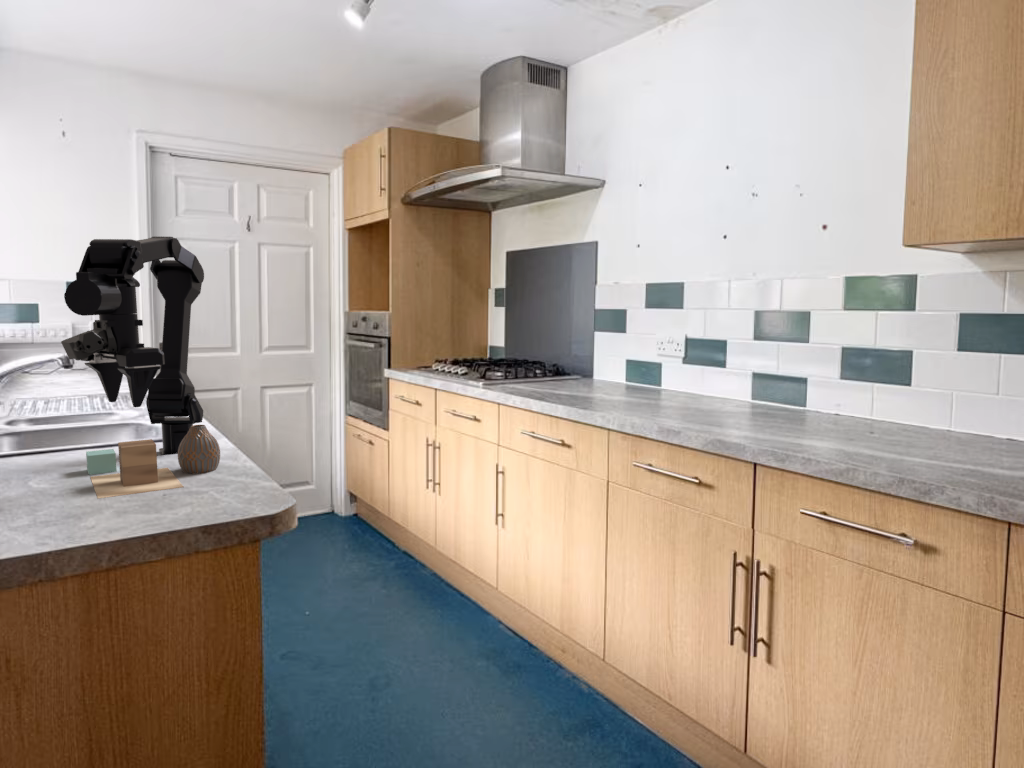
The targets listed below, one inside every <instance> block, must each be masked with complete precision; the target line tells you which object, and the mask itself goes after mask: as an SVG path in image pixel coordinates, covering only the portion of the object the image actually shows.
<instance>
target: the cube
mask: <svg viewBox="0 0 1024 768" xmlns="http://www.w3.org/2000/svg"><path fill="white" fill-rule="evenodd" d="M116 454H117V453H116V451H115V450H114V448H112V449H111V448H109V449H101V450H90V451H87V450H86V452H85V455H86V456H85V457H86V471H87V473H88V475H89V476H91V475H98V474H99V475H100V474H107V473H109V474H110V473H116V472H118V471H117V470H118V469H117V455H116Z"/></svg>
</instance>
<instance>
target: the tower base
mask: <svg viewBox="0 0 1024 768" xmlns="http://www.w3.org/2000/svg"><path fill="white" fill-rule="evenodd" d="M118 462H119V461H118ZM118 464H119V473H120V480H121V482H122V484H123V486H124V487H125V486H133V485H141V484H149V483H157V482H158V471H157V469H158V462H157V463H156V464H147V465H138V466H129V467H122V465H121V464H120V462H119V463H118Z"/></svg>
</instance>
